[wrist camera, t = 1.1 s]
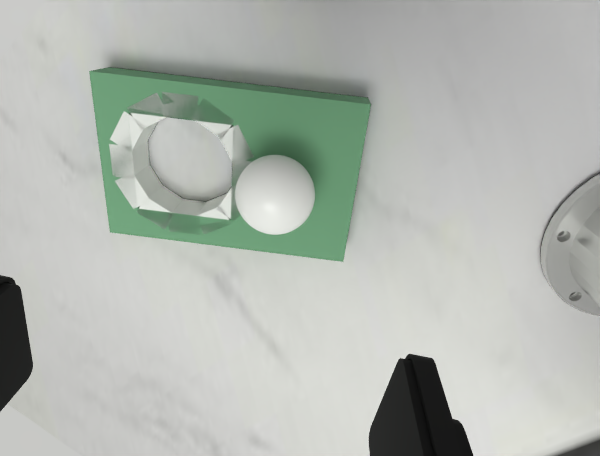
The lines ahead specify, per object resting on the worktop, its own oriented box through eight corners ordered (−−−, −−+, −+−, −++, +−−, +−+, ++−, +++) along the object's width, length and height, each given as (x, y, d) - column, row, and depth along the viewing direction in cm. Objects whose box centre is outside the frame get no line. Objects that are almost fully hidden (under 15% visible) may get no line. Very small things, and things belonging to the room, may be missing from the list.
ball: (320, 150, 25) (318, 175, 21) (312, 218, 28) (308, 253, 23) (245, 141, 25) (227, 164, 21) (242, 209, 28) (225, 243, 23)
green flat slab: (367, 97, 26) (371, 104, 24) (342, 244, 31) (343, 261, 29) (109, 67, 26) (89, 71, 24) (125, 217, 31) (110, 232, 29)
